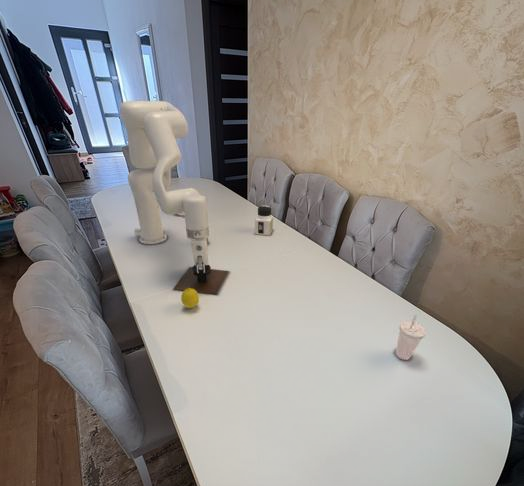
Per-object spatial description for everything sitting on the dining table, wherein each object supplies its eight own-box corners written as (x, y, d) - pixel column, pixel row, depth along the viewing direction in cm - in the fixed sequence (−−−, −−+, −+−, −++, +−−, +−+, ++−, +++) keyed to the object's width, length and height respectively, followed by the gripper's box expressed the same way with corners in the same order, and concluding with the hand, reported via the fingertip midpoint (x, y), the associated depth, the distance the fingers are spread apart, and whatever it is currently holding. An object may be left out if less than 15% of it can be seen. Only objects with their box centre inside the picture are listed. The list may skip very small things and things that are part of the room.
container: (269, 235, 152) (271, 210, 145) (254, 234, 153) (255, 208, 146) (272, 229, 158) (273, 205, 151) (258, 228, 160) (258, 203, 152)
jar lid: (208, 266, 117) (208, 262, 116) (212, 275, 112) (212, 270, 111) (191, 269, 115) (190, 264, 114) (194, 277, 110) (193, 273, 109)
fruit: (191, 315, 98) (189, 294, 93) (179, 309, 100) (176, 288, 96) (203, 306, 102) (201, 286, 97) (190, 301, 104) (188, 281, 100)
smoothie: (386, 347, 88) (399, 308, 80) (408, 346, 88) (423, 307, 81) (396, 364, 82) (412, 323, 75) (419, 363, 83) (436, 323, 75)
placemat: (173, 289, 110) (173, 288, 109) (190, 268, 123) (189, 266, 123) (216, 294, 108) (216, 293, 107) (228, 272, 121) (228, 271, 121)
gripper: (209, 241, 98) (213, 288, 108) (208, 221, 112) (211, 264, 122) (185, 243, 97) (191, 289, 107) (187, 222, 111) (191, 265, 121)
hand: (201, 276), depth 114 cm, fingers closed on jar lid, 6 cm apart
